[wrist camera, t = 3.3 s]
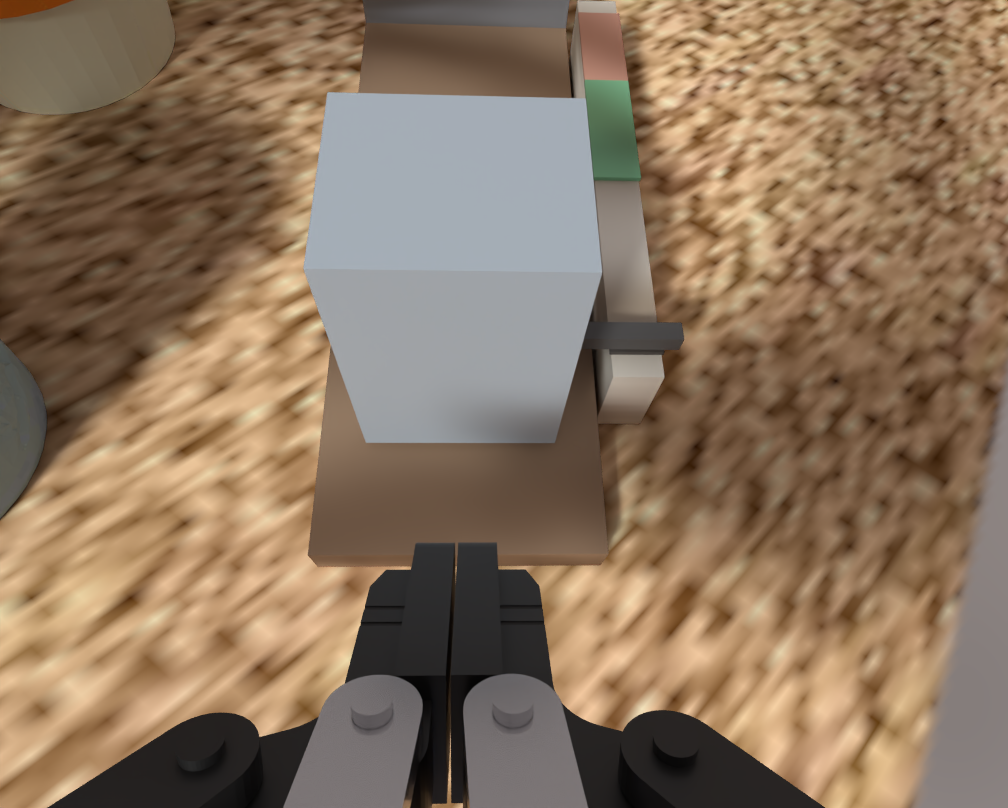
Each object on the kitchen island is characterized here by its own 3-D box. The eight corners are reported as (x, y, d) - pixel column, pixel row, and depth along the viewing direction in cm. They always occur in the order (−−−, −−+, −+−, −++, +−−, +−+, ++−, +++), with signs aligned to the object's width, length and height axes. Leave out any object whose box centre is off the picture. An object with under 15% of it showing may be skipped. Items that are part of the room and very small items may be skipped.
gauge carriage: (668, 443, 22) (780, 274, 14) (365, 442, 22) (303, 268, 14) (643, 242, 26) (721, 16, 18) (381, 239, 25) (339, 5, 17)
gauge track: (656, 564, 22) (815, 414, 12) (318, 566, 22) (180, 412, 12) (594, 4, 35) (646, -310, 24) (376, -3, 34) (334, -325, 24)
